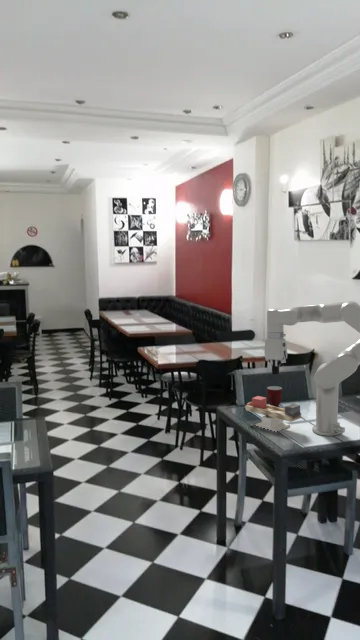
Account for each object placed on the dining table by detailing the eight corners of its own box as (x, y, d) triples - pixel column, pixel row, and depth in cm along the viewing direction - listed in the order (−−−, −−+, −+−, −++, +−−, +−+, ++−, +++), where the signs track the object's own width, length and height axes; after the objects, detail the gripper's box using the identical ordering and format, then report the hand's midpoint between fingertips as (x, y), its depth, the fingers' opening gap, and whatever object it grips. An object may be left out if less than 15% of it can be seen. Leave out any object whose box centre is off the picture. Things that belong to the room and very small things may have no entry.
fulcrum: (289, 426, 242) (290, 415, 241) (276, 432, 234) (276, 420, 234) (269, 420, 251) (269, 410, 250) (255, 426, 243) (255, 415, 242)
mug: (278, 410, 267) (278, 391, 266) (263, 408, 270) (263, 390, 269) (283, 405, 276) (283, 386, 275) (269, 403, 280) (269, 385, 278)
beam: (301, 418, 236) (302, 404, 235) (290, 423, 229) (290, 408, 228) (256, 407, 254) (256, 394, 253) (244, 411, 248) (244, 397, 247)
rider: (266, 407, 247) (266, 397, 247) (260, 410, 244) (260, 399, 243) (257, 405, 251) (257, 395, 250) (251, 408, 247) (251, 398, 247)
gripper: (293, 335, 235) (293, 374, 237) (266, 332, 246) (267, 370, 248) (284, 337, 230) (284, 377, 232) (257, 334, 240) (257, 373, 243)
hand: (275, 373), depth 240 cm, fingers closed
